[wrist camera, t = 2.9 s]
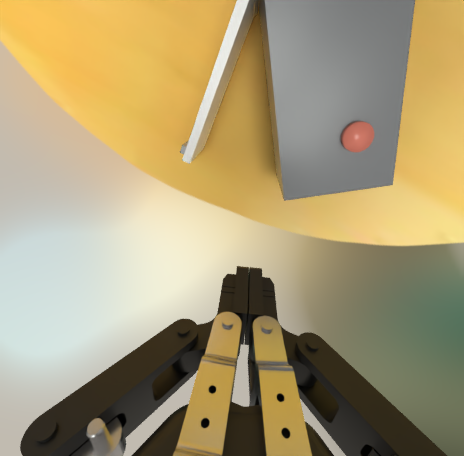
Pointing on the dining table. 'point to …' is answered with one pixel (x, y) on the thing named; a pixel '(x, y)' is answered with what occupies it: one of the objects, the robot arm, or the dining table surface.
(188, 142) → the side door
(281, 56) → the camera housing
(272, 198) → the dining table surface
